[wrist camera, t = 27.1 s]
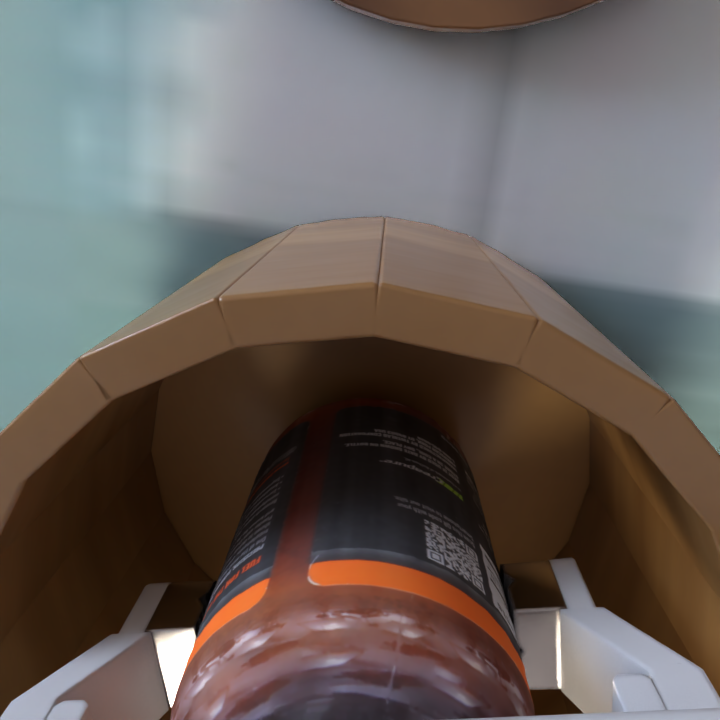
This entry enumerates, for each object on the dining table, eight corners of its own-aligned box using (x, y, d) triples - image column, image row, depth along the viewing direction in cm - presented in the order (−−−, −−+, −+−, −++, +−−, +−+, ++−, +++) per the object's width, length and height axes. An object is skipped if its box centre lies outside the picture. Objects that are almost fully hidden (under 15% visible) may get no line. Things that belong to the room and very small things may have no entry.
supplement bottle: (256, 570, 19) (89, 1098, 9) (264, 378, 18) (64, 749, 7) (461, 591, 19) (547, 1150, 9) (491, 400, 18) (647, 810, 7)
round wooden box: (262, 702, 24) (182, 1045, 15) (45, 337, 20) (-243, 498, 11) (670, 570, 21) (874, 884, 12) (513, 126, 17) (642, 108, 8)
